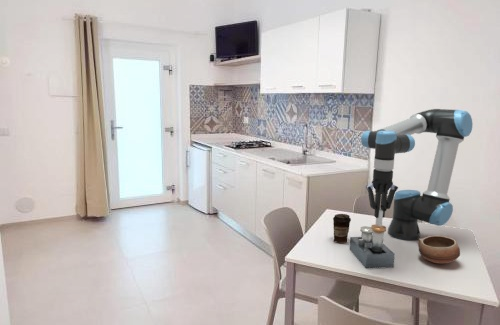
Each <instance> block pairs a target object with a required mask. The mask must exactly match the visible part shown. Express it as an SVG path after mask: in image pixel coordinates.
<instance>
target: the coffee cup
mask: <svg viewBox="0 0 500 325" xmlns="http://www.w3.org/2000/svg"><path fill="white" fill-rule="evenodd" d="M332 220H333V222H332V223H333V242H336V243H339V244H346V243H348V237H349V230H350V223H351V221H352V219H351V216H350V215H349V214H347V213H337V214H335V215H334V217H333V218H332Z"/></svg>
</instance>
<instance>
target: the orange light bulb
mask: <svg viewBox="0 0 500 325" xmlns="http://www.w3.org/2000/svg"><path fill="white" fill-rule="evenodd" d="M370 227H371V230H373V233H372V247H371V250H372V251H374V252H382V249H383V244H384V236H385V235H384V234H385V232H386V231H387V227H386V226H385V225H383V224H382V226H378V225H376V224H371V226H370Z"/></svg>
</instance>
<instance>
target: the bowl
mask: <svg viewBox="0 0 500 325" xmlns="http://www.w3.org/2000/svg"><path fill="white" fill-rule="evenodd" d="M417 246H418V252H419V254H420V255H421V257H422V258H424V259H425V260H427V261H429V262H431V263H434V264H448V263H452V262H455V261H456V260H457V259H458V258H459V257H460V256H461V251H460V246H459V244H458V242H457V241H456V240H455V239H454V238H451V237H449V236H446V235H429V236H426V237H423V238H419V239H418V242H417Z"/></svg>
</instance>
